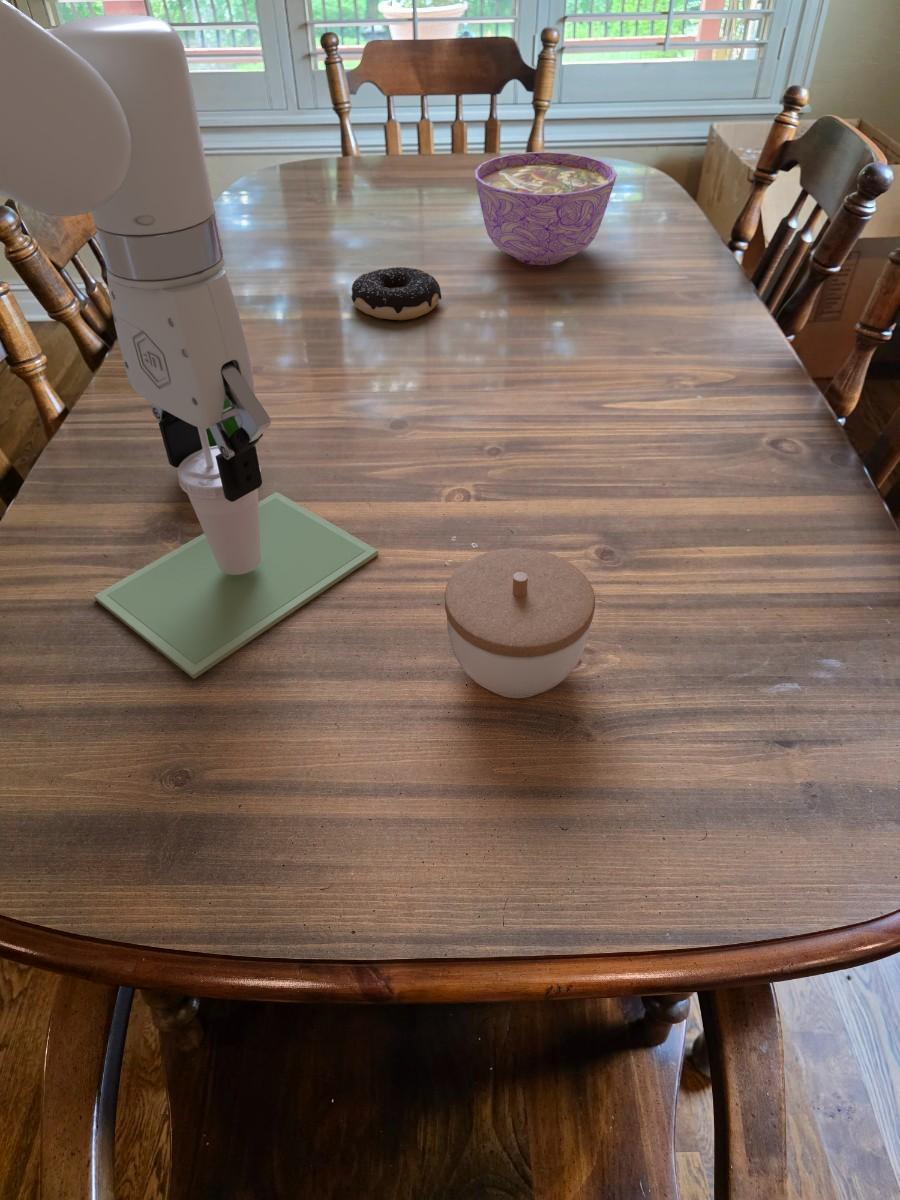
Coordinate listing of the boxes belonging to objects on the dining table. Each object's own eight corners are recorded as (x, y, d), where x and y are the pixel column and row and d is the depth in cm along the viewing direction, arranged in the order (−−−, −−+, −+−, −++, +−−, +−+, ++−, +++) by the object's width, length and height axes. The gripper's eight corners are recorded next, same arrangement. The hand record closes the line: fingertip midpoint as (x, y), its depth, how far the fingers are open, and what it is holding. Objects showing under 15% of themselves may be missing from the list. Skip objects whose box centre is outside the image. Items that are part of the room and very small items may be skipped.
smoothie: (195, 549, 76) (156, 406, 67) (267, 531, 78) (239, 389, 68) (210, 593, 71) (171, 446, 62) (285, 572, 73) (258, 427, 64)
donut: (419, 329, 111) (418, 299, 109) (337, 316, 115) (334, 286, 112) (451, 296, 119) (450, 267, 116) (373, 284, 122) (371, 256, 120)
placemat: (194, 679, 67) (192, 674, 66) (95, 600, 74) (93, 595, 73) (378, 554, 78) (378, 549, 77) (277, 495, 85) (276, 491, 84)
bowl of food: (532, 222, 140) (536, 143, 132) (635, 252, 130) (645, 169, 122) (446, 257, 130) (444, 174, 122) (550, 293, 119) (555, 205, 111)
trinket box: (614, 683, 66) (630, 590, 59) (499, 745, 61) (502, 652, 55) (529, 603, 72) (535, 512, 66) (420, 655, 68) (415, 563, 62)
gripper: (41, 231, 59) (113, 457, 71) (194, 298, 50) (247, 542, 62) (136, 202, 63) (189, 420, 75) (293, 260, 54) (325, 496, 66)
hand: (215, 474), depth 68 cm, fingers closed on smoothie, 6 cm apart
